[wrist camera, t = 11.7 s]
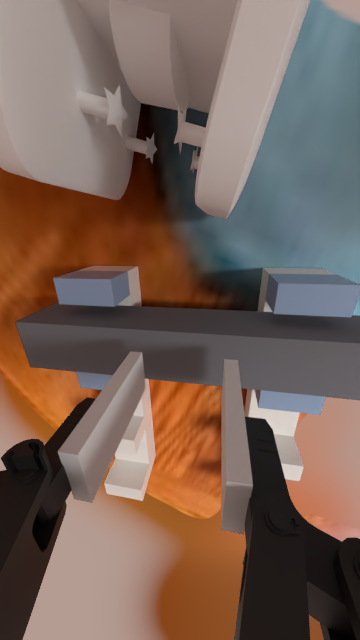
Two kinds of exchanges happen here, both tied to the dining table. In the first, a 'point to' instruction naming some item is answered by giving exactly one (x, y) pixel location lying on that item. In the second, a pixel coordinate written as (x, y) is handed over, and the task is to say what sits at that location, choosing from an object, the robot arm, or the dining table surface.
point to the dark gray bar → (201, 346)
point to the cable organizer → (140, 87)
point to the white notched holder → (276, 407)
